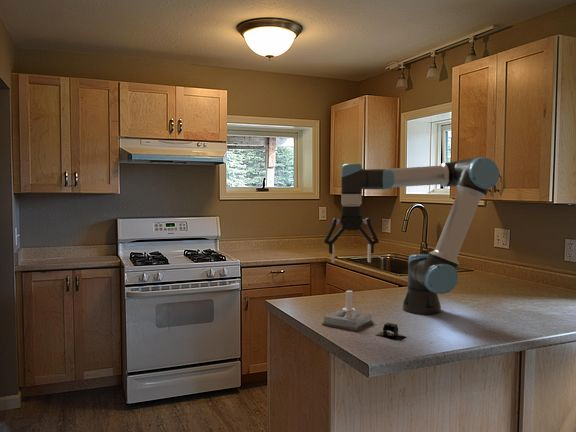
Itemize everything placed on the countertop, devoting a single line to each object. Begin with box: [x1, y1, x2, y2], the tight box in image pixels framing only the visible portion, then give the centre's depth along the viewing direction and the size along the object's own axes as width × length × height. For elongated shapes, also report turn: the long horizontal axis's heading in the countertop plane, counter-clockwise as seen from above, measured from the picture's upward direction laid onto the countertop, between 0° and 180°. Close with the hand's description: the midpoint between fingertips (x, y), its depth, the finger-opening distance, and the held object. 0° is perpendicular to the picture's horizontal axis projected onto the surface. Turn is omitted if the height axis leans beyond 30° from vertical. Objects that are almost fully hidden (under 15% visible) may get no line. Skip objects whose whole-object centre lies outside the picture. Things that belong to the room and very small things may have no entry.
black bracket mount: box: [374, 322, 407, 342], centre depth 169 cm, size 12×7×5 cm, turn 54°
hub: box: [321, 308, 374, 332], centre depth 183 cm, size 14×14×3 cm
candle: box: [342, 289, 356, 319], centre depth 183 cm, size 5×5×12 cm
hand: (351, 262), depth 186 cm, fingers open, 13 cm apart
